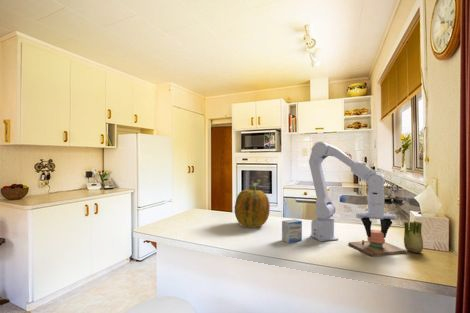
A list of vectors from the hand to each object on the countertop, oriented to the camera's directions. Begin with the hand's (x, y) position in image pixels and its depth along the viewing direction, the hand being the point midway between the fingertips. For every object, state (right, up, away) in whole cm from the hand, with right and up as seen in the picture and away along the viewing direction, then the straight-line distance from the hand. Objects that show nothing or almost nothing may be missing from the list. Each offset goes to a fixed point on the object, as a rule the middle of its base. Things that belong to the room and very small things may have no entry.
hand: (376, 236), depth 92 cm
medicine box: (-32, -5, +9) cm, 34 cm away
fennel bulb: (+13, -5, -3) cm, 14 cm away
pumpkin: (-48, -5, +30) cm, 57 cm away
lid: (0, -2, 0) cm, 2 cm away
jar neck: (0, -5, 0) cm, 5 cm away
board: (0, -5, 0) cm, 5 cm away
